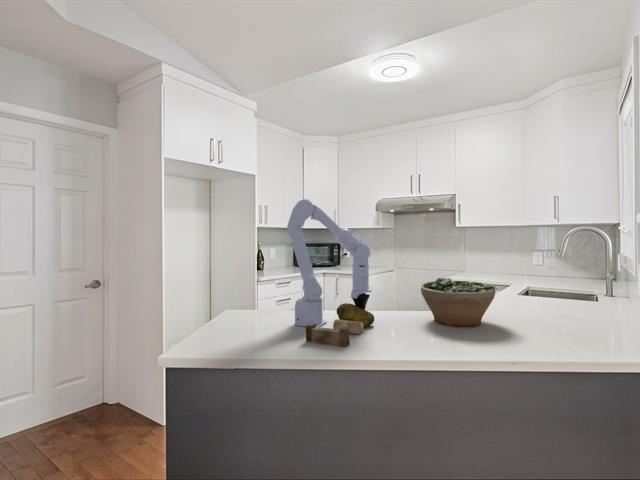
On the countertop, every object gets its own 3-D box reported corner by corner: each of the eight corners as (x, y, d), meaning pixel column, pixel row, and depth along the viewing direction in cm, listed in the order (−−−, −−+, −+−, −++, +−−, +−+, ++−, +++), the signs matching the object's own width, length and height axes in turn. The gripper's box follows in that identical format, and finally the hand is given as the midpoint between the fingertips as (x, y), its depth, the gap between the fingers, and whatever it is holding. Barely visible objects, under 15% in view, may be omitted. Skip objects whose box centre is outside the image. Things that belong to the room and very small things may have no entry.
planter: (511, 328, 125) (512, 284, 125) (445, 334, 119) (445, 288, 119) (464, 311, 150) (464, 275, 150) (407, 315, 144) (407, 277, 143)
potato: (373, 330, 124) (373, 306, 124) (335, 328, 127) (335, 305, 126) (374, 324, 132) (374, 301, 132) (338, 322, 135) (338, 300, 134)
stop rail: (306, 341, 113) (305, 325, 113) (310, 338, 116) (310, 322, 115) (346, 347, 108) (345, 329, 107) (349, 344, 110) (349, 327, 110)
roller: (332, 325, 122) (336, 316, 125) (334, 334, 124) (338, 325, 127) (358, 328, 118) (361, 319, 121) (360, 337, 120) (364, 328, 123)
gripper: (364, 280, 125) (364, 320, 126) (377, 275, 139) (377, 311, 139) (345, 279, 128) (345, 318, 129) (359, 274, 142) (359, 309, 142)
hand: (360, 314), depth 134 cm, fingers closed
